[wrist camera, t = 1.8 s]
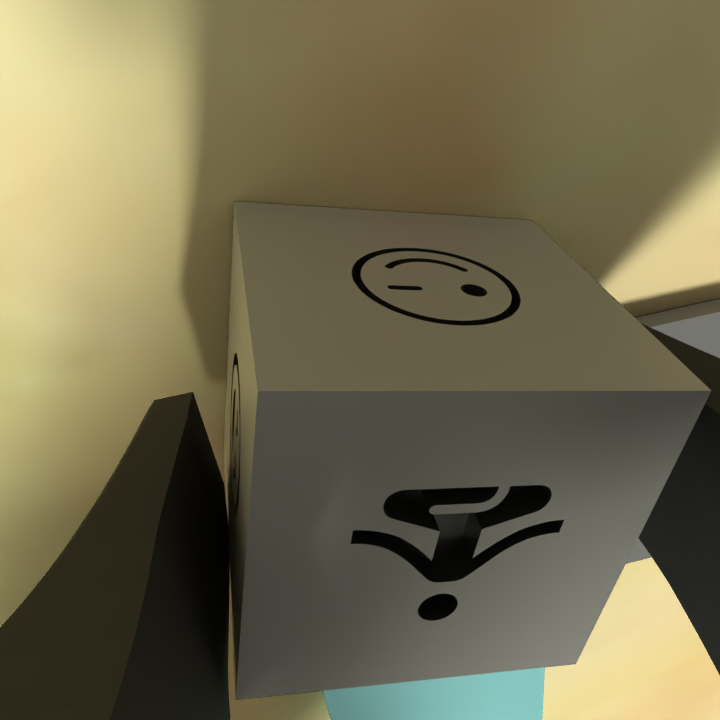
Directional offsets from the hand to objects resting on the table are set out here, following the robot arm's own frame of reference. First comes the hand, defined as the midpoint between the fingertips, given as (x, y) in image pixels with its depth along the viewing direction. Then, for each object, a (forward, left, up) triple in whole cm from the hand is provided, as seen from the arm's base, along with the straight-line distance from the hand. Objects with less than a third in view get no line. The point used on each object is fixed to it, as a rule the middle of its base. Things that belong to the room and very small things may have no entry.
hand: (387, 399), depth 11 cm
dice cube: (0, 0, -2) cm, 2 cm away
